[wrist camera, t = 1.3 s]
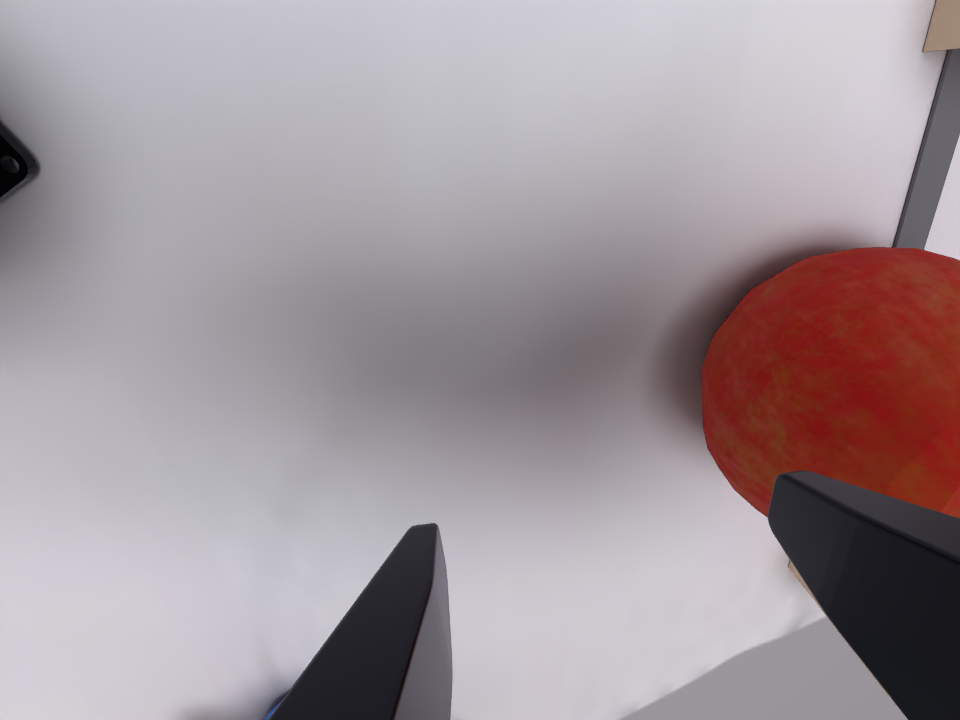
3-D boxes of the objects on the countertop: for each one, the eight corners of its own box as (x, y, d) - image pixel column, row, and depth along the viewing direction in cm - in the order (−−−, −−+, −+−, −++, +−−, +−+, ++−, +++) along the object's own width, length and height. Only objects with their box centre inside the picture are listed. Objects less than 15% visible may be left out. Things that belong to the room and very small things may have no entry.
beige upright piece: (788, 566, 29) (888, 695, 22) (952, -61, 16) (1294, -166, 10) (839, 559, 29) (953, 685, 22) (1044, -71, 16) (1442, -181, 10)
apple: (637, 441, 24) (768, 669, 14) (726, 205, 19) (1014, 309, 9) (842, 462, 25) (1084, 681, 16) (973, 248, 20) (1433, 377, 11)
